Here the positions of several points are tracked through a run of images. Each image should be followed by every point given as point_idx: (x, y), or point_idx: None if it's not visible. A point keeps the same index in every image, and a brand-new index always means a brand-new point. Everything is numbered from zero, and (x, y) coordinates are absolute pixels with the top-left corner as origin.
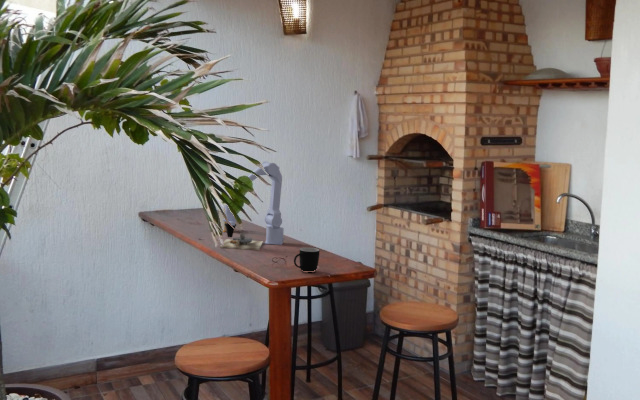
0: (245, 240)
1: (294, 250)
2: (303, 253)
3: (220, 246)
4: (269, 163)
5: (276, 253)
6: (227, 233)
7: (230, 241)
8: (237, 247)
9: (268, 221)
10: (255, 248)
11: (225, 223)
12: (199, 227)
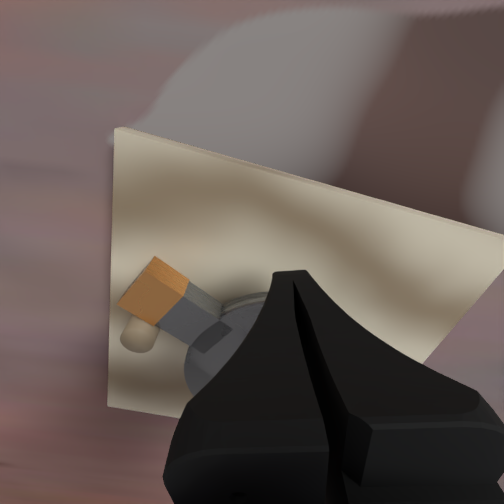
0: (192, 388)
1: (149, 496)
2: None
3: (116, 134)
4: None
5: (46, 443)
6: (279, 294)
7: (146, 267)
8: (111, 292)
9: None
10: (109, 389)
11: (493, 451)
12: None
